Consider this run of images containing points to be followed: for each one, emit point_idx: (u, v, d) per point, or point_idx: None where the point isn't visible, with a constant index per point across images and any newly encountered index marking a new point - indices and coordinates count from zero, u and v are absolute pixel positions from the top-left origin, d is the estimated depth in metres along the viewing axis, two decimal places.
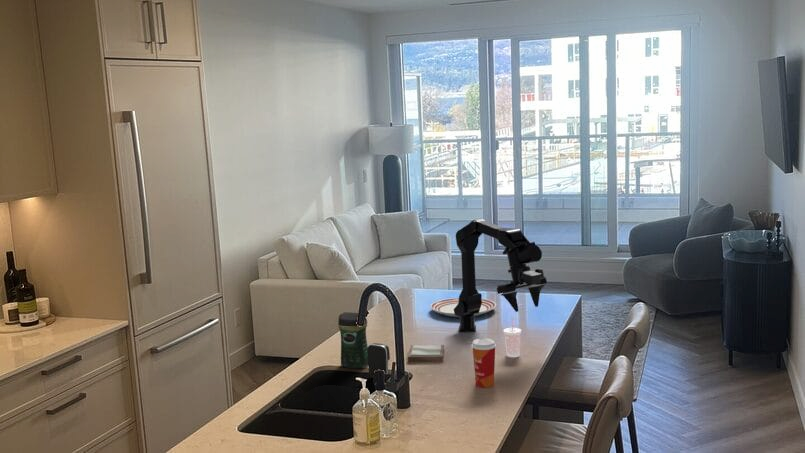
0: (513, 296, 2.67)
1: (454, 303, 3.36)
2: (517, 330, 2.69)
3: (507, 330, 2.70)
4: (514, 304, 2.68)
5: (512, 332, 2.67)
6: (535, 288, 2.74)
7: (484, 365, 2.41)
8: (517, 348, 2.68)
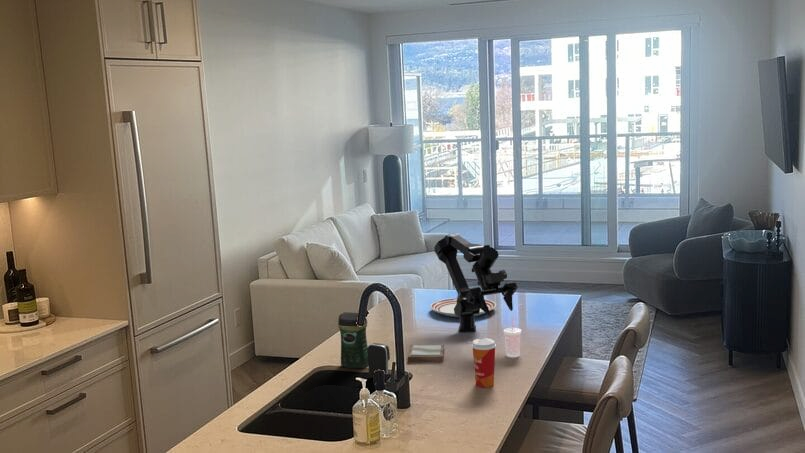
0: (480, 299, 2.75)
1: (454, 303, 3.36)
2: (517, 330, 2.69)
3: (507, 330, 2.70)
4: (484, 307, 2.75)
5: (512, 332, 2.67)
6: (507, 293, 2.80)
7: (484, 365, 2.41)
8: (517, 348, 2.68)
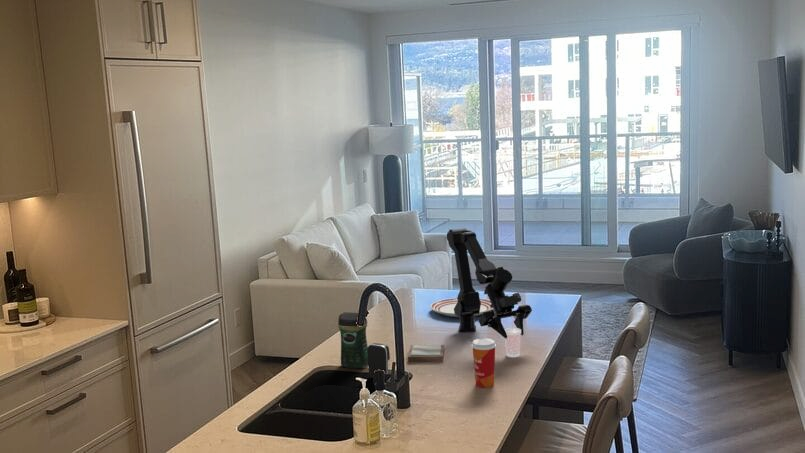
0: (497, 322, 2.68)
1: (454, 303, 3.36)
2: (517, 330, 2.69)
3: (507, 330, 2.70)
4: (501, 330, 2.68)
5: (512, 332, 2.67)
6: (517, 317, 2.72)
7: (484, 365, 2.41)
8: (517, 348, 2.68)
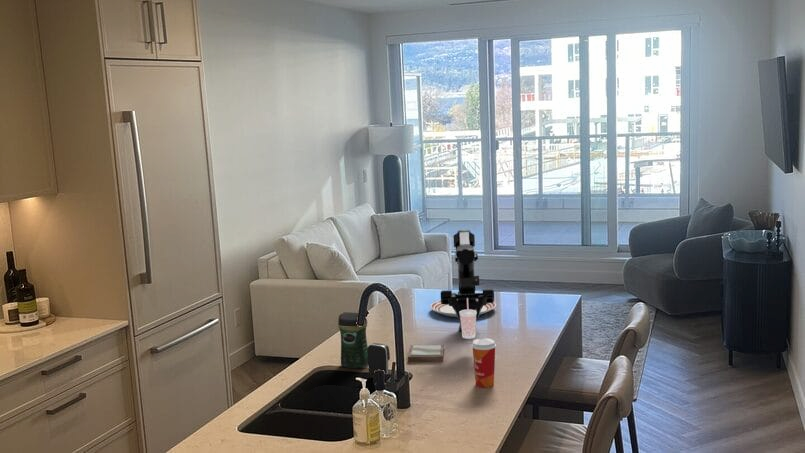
0: (453, 302, 2.73)
1: None
2: (472, 312, 2.72)
3: (463, 311, 2.73)
4: (455, 310, 2.73)
5: (465, 314, 2.71)
6: None
7: (484, 365, 2.41)
8: (470, 330, 2.71)
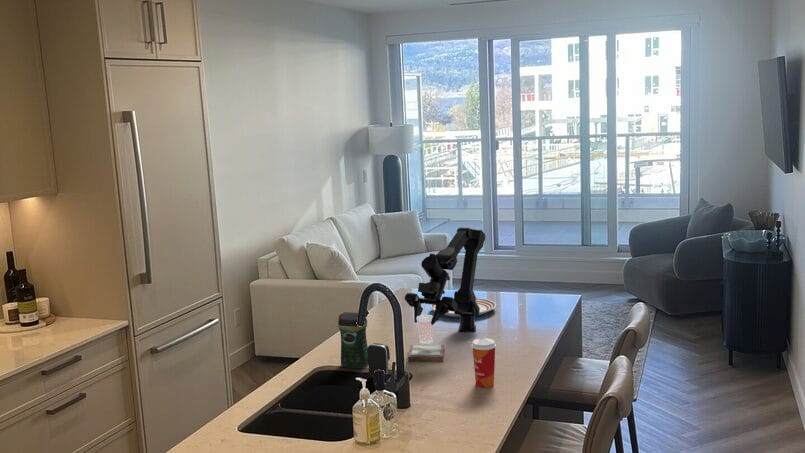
0: (414, 305, 2.74)
1: None
2: (427, 318, 2.70)
3: (422, 316, 2.73)
4: None
5: (419, 318, 2.70)
6: None
7: (484, 365, 2.41)
8: (423, 335, 2.70)
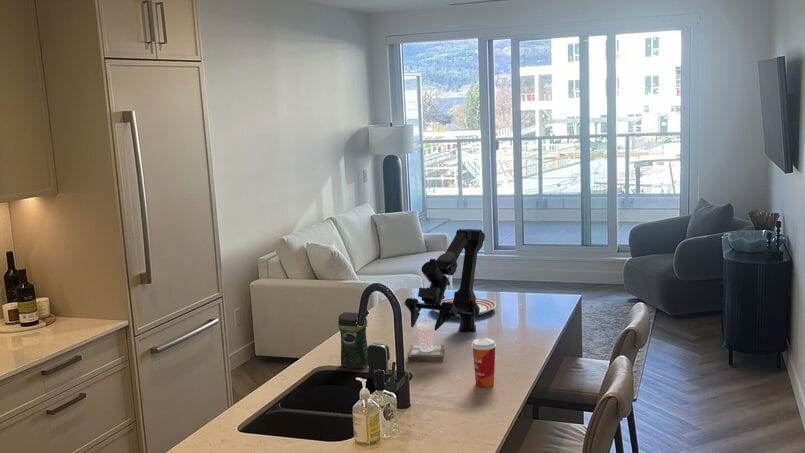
0: (410, 310, 2.75)
1: None
2: (428, 326, 2.70)
3: (423, 324, 2.73)
4: None
5: (420, 326, 2.71)
6: None
7: (484, 365, 2.41)
8: (424, 343, 2.71)
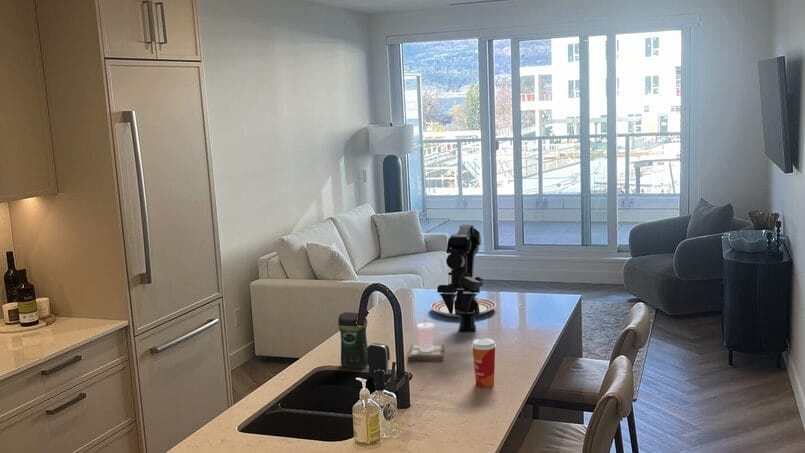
0: (452, 298, 2.77)
1: None
2: (428, 326, 2.70)
3: (423, 324, 2.73)
4: (450, 305, 2.78)
5: (420, 326, 2.71)
6: (468, 295, 2.86)
7: (484, 365, 2.41)
8: (424, 343, 2.71)
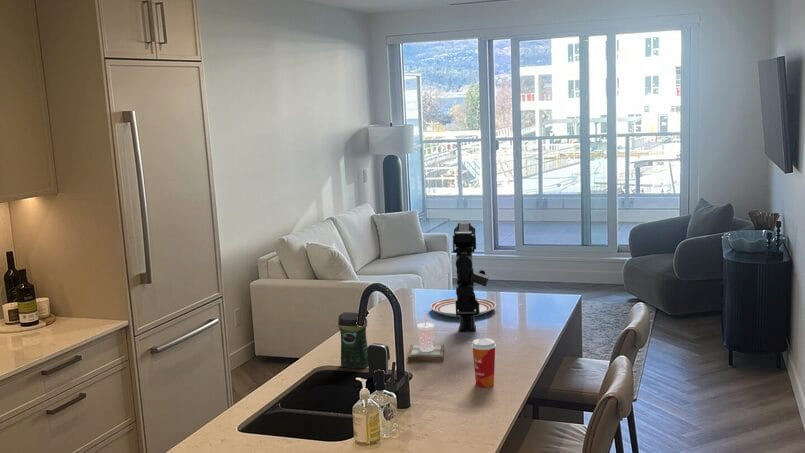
0: (470, 297, 2.78)
1: (454, 303, 3.36)
2: (428, 326, 2.70)
3: (423, 324, 2.73)
4: (467, 304, 2.79)
5: (420, 326, 2.71)
6: None
7: (484, 365, 2.41)
8: (424, 343, 2.71)
